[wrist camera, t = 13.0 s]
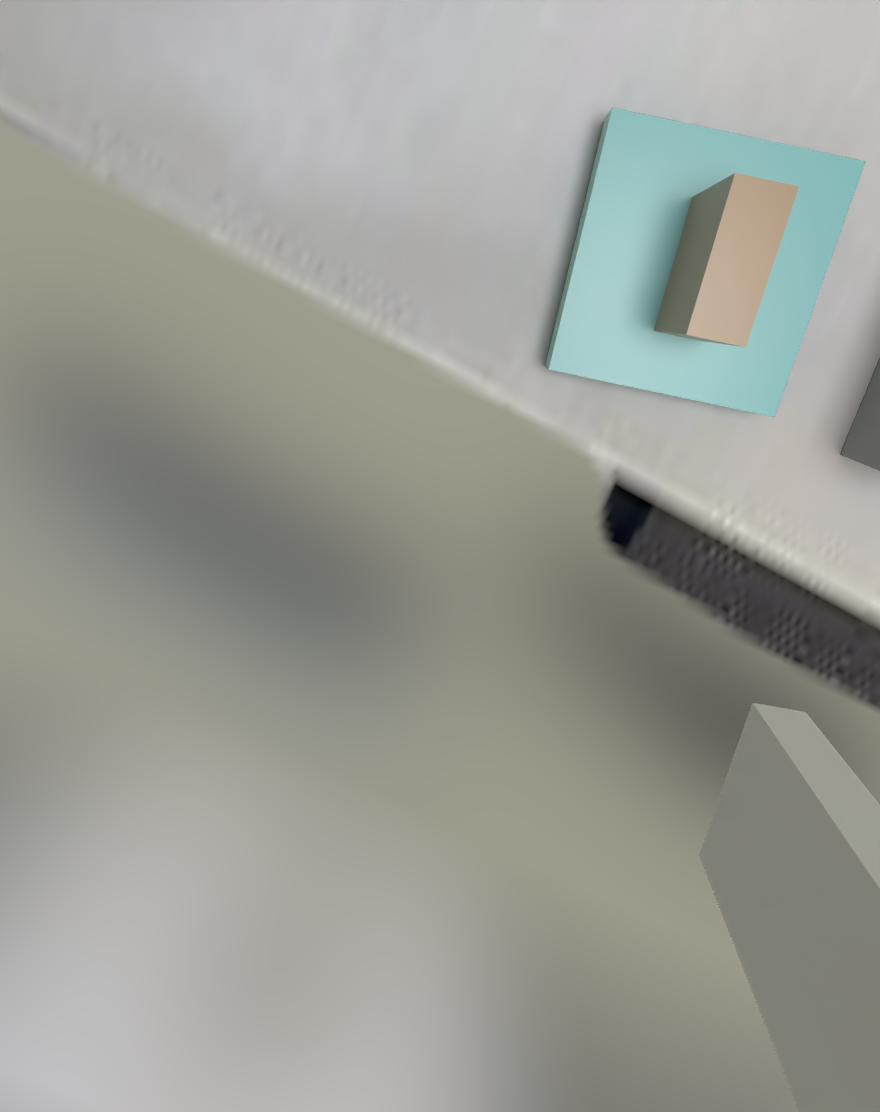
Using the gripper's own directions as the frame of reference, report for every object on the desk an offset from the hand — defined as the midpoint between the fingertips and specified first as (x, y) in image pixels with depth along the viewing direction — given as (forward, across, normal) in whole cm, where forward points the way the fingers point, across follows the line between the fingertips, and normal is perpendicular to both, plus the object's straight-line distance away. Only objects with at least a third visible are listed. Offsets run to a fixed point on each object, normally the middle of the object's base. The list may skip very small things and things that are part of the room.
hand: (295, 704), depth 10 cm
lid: (+30, +11, +9) cm, 34 cm away
